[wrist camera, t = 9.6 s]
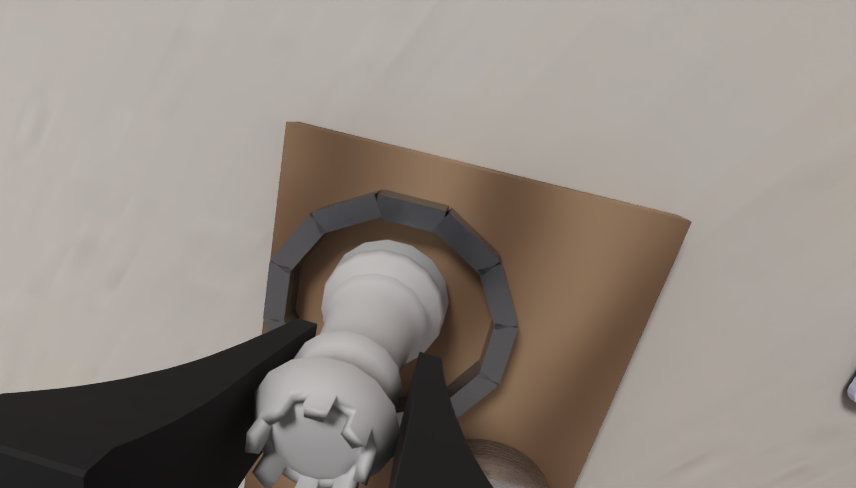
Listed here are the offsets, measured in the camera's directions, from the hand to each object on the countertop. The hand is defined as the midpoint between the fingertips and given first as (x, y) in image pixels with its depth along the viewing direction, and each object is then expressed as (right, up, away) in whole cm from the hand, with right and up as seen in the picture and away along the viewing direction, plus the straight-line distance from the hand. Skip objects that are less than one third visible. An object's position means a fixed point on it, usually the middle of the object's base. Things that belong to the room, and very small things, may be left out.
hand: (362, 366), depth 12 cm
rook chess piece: (+1, +2, +3) cm, 4 cm away
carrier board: (+2, -2, +5) cm, 6 cm away
